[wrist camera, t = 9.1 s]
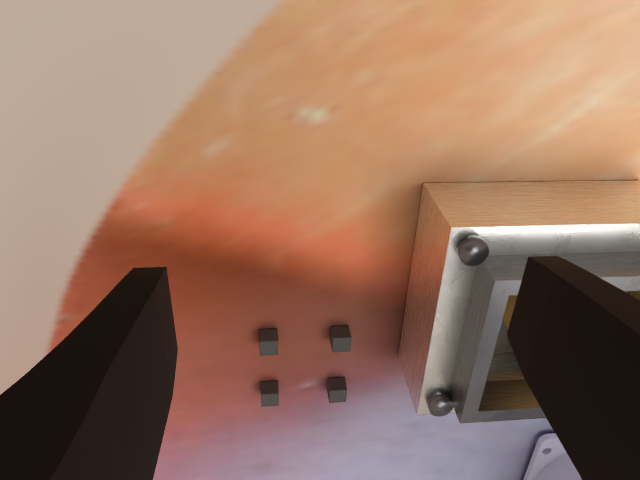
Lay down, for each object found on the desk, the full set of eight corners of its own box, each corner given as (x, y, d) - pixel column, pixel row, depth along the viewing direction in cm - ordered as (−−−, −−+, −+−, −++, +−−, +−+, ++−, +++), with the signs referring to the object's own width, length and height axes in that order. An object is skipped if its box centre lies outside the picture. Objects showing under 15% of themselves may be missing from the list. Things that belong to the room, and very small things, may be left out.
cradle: (343, 389, 26) (345, 402, 25) (261, 393, 26) (261, 406, 25) (348, 325, 24) (351, 337, 23) (259, 329, 24) (259, 341, 23)
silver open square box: (577, 347, 26) (639, 430, 22) (398, 356, 25) (427, 444, 21) (639, 180, 22) (733, 244, 17) (423, 183, 21) (466, 251, 16)
